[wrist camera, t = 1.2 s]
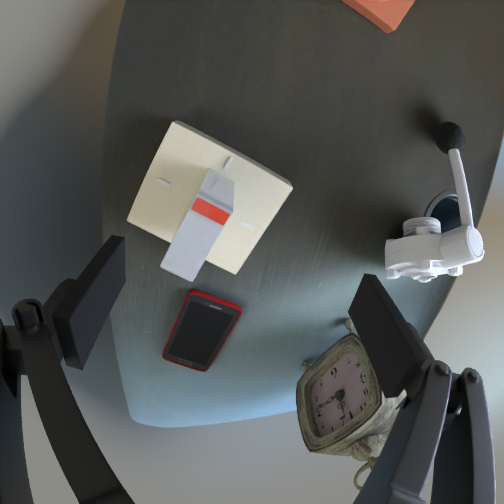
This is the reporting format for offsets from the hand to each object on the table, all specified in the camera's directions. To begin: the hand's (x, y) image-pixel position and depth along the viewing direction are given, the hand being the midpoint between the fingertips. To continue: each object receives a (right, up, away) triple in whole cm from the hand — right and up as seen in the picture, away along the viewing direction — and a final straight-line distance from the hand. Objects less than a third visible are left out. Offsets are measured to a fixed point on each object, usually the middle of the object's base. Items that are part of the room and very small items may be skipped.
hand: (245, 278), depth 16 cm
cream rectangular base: (-5, +8, +18) cm, 20 cm away
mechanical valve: (+22, +9, +19) cm, 31 cm away
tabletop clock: (+14, -14, +30) cm, 36 cm away
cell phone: (-7, -10, +27) cm, 30 cm away
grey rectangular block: (-4, +6, +15) cm, 17 cm away
